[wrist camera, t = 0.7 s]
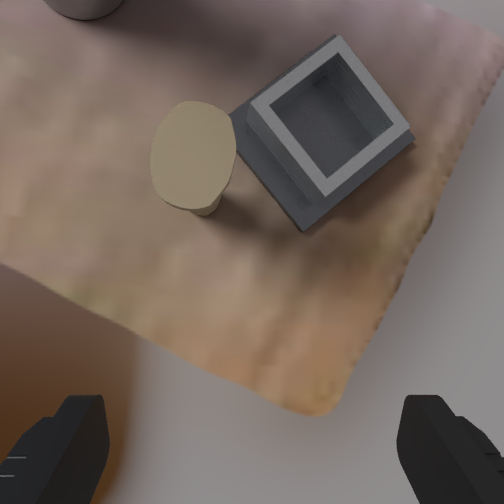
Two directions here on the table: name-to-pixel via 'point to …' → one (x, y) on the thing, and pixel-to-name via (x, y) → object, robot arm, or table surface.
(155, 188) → the handle
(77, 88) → the table surface
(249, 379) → the table surface
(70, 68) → the table surface
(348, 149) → the socket
